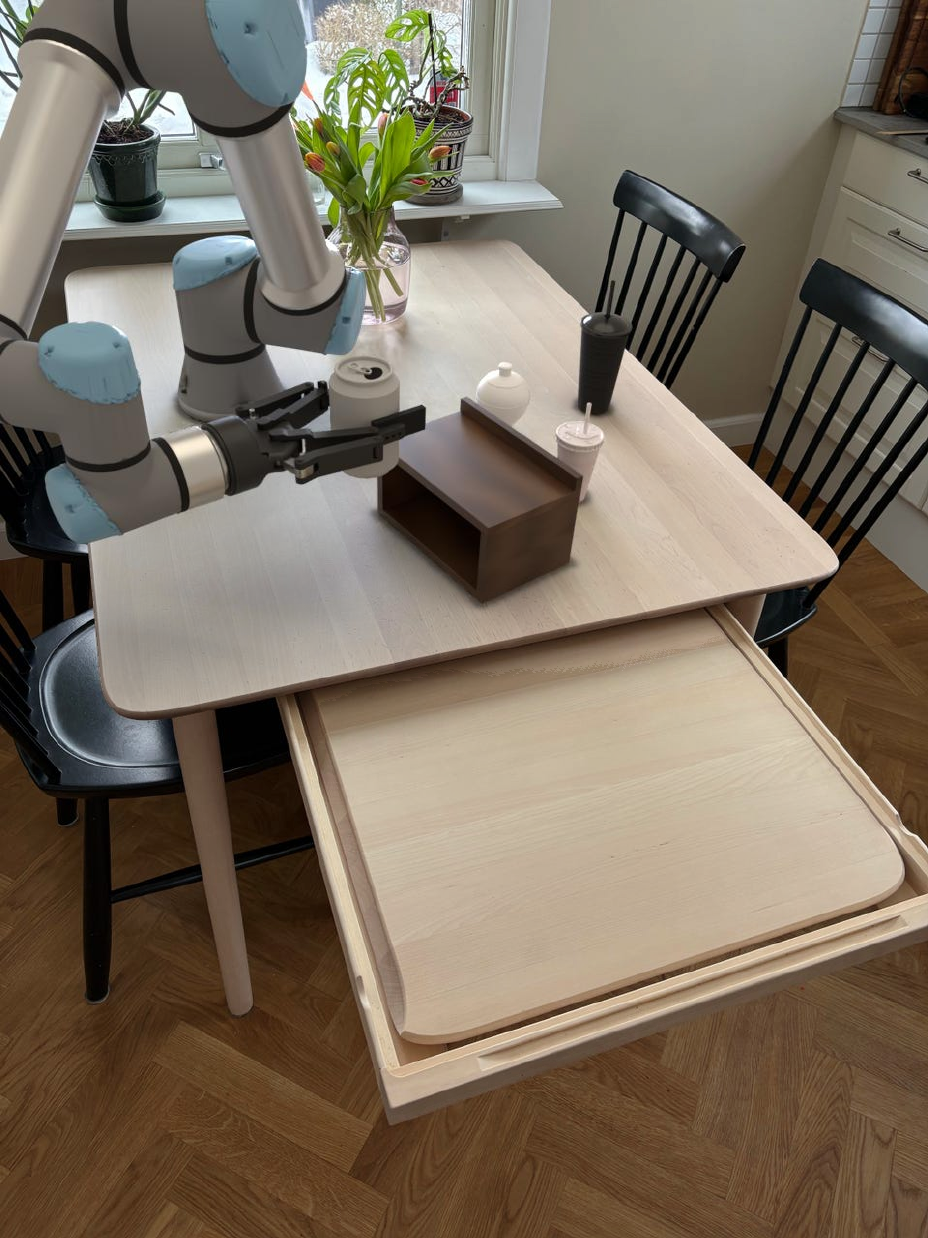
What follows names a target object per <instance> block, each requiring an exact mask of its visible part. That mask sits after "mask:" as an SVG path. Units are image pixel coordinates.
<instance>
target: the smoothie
mask: <svg viewBox="0 0 928 1238" xmlns="http://www.w3.org/2000/svg"><path fill="white" fill-rule="evenodd" d="M591 405H592V404H591V403H587V408H586V413H585V415H584V416H585V417H584V421H579V420H575V421H573V420H572V421H567V422H564V423H561V424H560V425H559V426H557V428H556V430H555V431H556V432H555V435H554V440H555V442H556V443H557V447H556V450H557V451H556V452H557V457H556V458H558V459H559V460H561V461H562V462H564V463H565V464H567V465H568V466H570V467H571V468H572V469H574V470H575V471H577V472H578V473H580V474H581V475H583V480H582V487H581V492H580V499H579V503H581V502H582V501H584V499H585V497H586V494H587V491H588V488H589V484H590V482H591V478H592V475H593V471H594V469H595V465H596V463H597V459H598V456H599V453H600V450H601V448H603V446H604V444H605V432H604V431H603V430H602V429H601V427H599V426H597V425H595V424H593V423H590V417H591V414H590V411H591Z"/></svg>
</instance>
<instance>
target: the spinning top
mask: <svg viewBox="0 0 928 1238" xmlns="http://www.w3.org/2000/svg"><path fill="white" fill-rule="evenodd" d="M530 400H531V392H530V388H529V386H528V384H527V382H526V381H525V379H524V378H523V377H522V375H520V374H519V373H517V372H515V371H513V365H512V364H511V363H510V362H507V361H506V362H500V363H499V364H498V369H497V370H493V371H490V372H489V373H487V374H486V376H484V377H483V378H482V379H481V380H480V382H479V383H478V385H477V388H476V391H475V402H476V403H477V404H478V405H480V406H481V407H483V408H484V409H486V410H487V411H489V412H490V413H492V414H493V415H495V416H496V417H498V418H499V419H500V420H502V421H503V422H505V423H506V424H508V425H509V426H511V427H512V428H513V427H514V425H515V424H516V423H517V422H519V420H520V419H521V418H522V417H523V415H524V414H525V412H526V410H527V409H528V407H529V404H530Z"/></svg>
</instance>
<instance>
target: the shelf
mask: <svg viewBox="0 0 928 1238" xmlns="http://www.w3.org/2000/svg"><path fill="white" fill-rule="evenodd" d="M582 480H583V475H581V474H580V473H578V472H577V471H575V470H574V469H572V468H571V467H570V466H568V465H567V464H565V463H564V462H562V461H561V460H559V459H558V458H557V457H556V456H555V455H554V454H552V453H551V452H549V451H548V450H546V449H545V448H543V447H542V446H540V445H539V444H537V443H535V442H534V441H533V440H531V439H530V438H528V437H527V436H526V435H525V434H522V433H521V432H519V431H518V430H517V429H515V428H514V427H513V426H512V427H511V426H509V425H508V424H506V423H505V422H503V421H502V420H500V419H499V418H498V417H496V416H495V415H493V414H492V413H490V412H489V411H487V410H486V409H484V408H483V407H481V406H480V405H478V404H477V401H474V400H472V399H471V398H470V397H469V396H464V397H461V398H460V409H459V411H456V412H453V413H451V414H448V415H445V416H442V417H438V418H436V419H433V420H430V421H426V427H425V430H423V431H420V432H417V433H414V434H411V435H408V436H405V437H404V438H403V439H400V440H399V460H398V463H397V465H396V466H395V467H394V468H393V469H391V470H389V471H388V472H387V473H386V474H384V475H382V476H379V477H376V509H377V510H376V511H377V514H378V515H379V516H380V517H382V519H384V520H385V521H386V522H387V523H388V524H389V525H391V526H392V527H393V528H394V529H395V530H396V531H398V532H399V533H400V534H401V535H402V536H403V537H404V538H405V539H407V540H408V541H409V542H410V543H411V544H413V545H414V546H415V547H416V548H417V549H419V551H421V552H422V553H423V554H424V555H426V557H427V558H429V559H430V560H431V561H432V562H433V563H435V565H437V566H438V567H439V568H441V569H442V570H443V571H444V572H445V573H446V574H447V575H448V576H449V577H451V578H452V579H453V580H454V581H455V582H457V583H458V585H460V586H461V587H462V588H463V589H464V590H466V591H467V592H468V593H469V594H470V595H472V596H473V598H475V599H476V600H477V601H478V602H479V603H481V604H485V603H487V602H489V601H490V600H493V599H495V598H498V597H499V596H502V595H504V594H506V593H508V592H510V591H512V590H514V589H516V588H518V587H520V586H523V585H524V584H527V583H529V582H531V581H533V580H535V579H538V578H539V577H541V576H543V575H546V574H548V573H551V572H552V571H554V570H556V569H558V568H560V567H563V566H564V565H567V564H569V563H570V561H571V556H572V550H573V549H572V548H573V544H574V543H573V542H574V536H575V531H576V525H577V524H576V523H577V518H578V512H579V505H580V502H579V499H580V492H581V487H582Z"/></svg>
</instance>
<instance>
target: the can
mask: <svg viewBox="0 0 928 1238" xmlns="http://www.w3.org/2000/svg"><path fill="white" fill-rule="evenodd" d="M333 370H334V372H332V374H331V375H330V376H329V378H328V389H329V402H330V406H329V422H330V430H339V429H350V428H361V427H371V421H373V420H376V419H379V418H382V417H385V416H388V415H391V414H394V413H397V412H400V411H401V410H400V409H401V408H400V407H401V406H400V405H401V403H400V401H401V400H400V399H401V397H400V396H401V394H400V393H401V391H400V390H401V387H400V386H401V380H400V379H399V376H398V375H397V374H396V373H395V368H394V366H393V363H391V362H390V361H389V360H387V359H385V358H383V357H381V356H377V355H374V354H355V355H354V354H353V355H350V356H346V357H344V358H342V359H340V360H339V361H338V362H336V363H335V364H334V367H333ZM366 438H367V437H366ZM398 460H399V440H397V441H394V442H392V443H389V444H386V445H383V460H382V461H381V462H377V463H373V464H369V465H365V466H361V467H357V468H353V469H349V470H345V471H342V472H343V473H344V474H346V475H348V476H349V477H353V478H357V479H365V480H366V479H368V480H369V479H377V477H379V476H382V475H384V474H386V473H387V472H388V471H389V470H391V469H393V468H394V467H395V466H396V465H397V463H398Z"/></svg>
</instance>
